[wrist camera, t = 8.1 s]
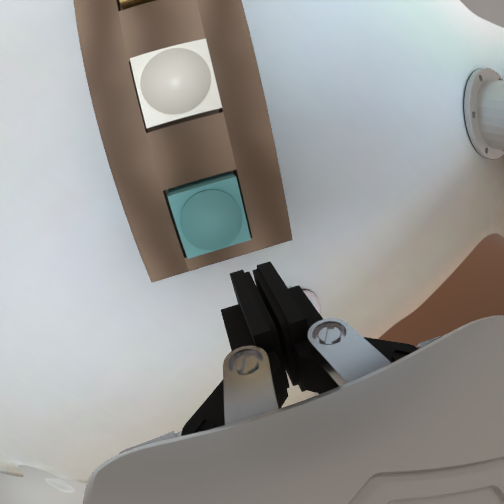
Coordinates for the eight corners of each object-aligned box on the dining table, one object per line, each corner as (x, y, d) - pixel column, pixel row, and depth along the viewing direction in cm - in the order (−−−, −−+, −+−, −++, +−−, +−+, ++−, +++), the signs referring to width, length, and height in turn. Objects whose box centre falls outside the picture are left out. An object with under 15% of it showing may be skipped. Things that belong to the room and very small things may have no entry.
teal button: (229, 170, 24) (237, 178, 21) (242, 227, 26) (253, 242, 23) (168, 187, 24) (167, 198, 20) (185, 244, 26) (187, 262, 23)
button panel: (215, -57, 16) (220, -73, 13) (280, 227, 28) (292, 239, 26) (79, -23, 15) (70, -37, 12) (153, 266, 27) (151, 282, 24)
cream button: (201, 48, 19) (206, 36, 16) (216, 109, 21) (223, 107, 18) (135, 66, 18) (128, 56, 15) (150, 127, 21) (145, 128, 17)
